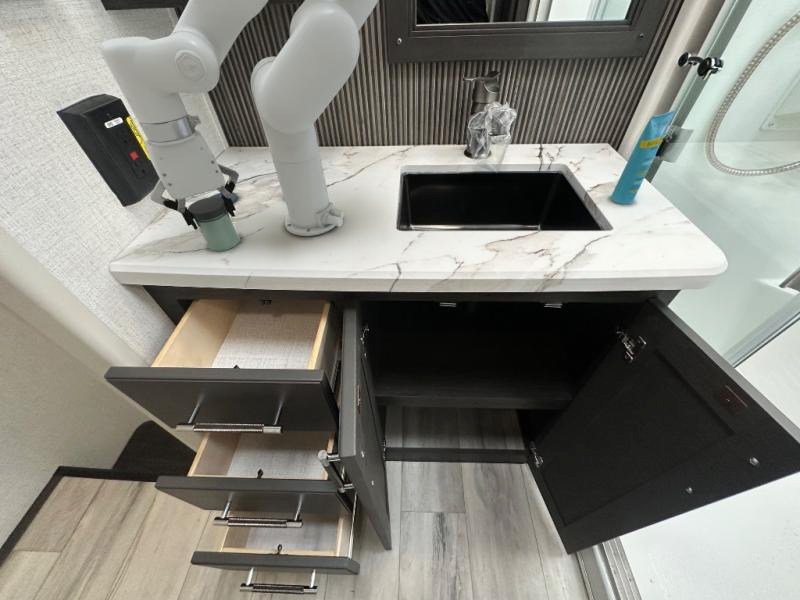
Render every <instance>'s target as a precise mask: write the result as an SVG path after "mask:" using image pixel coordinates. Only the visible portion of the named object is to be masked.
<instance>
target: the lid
mask: <svg viewBox="0 0 800 600" xmlns="http://www.w3.org/2000/svg"><path fill="white" fill-rule="evenodd" d="M187 209H188V210H189V212H190V214H191V216H192V218H193V219H194V221H195V220H210V219H213V218H216V217H219V216H221V215H222V214H224V213H225V212H226V210H227V205H226V203H225V201H224V200H223V199H222V198H219V197H211V196H210V197H209V196H208V197H204V198H201V199H198V200H196V201H194V202H192V203H191V204H190V205H189V206H188V207H187Z"/></svg>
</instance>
